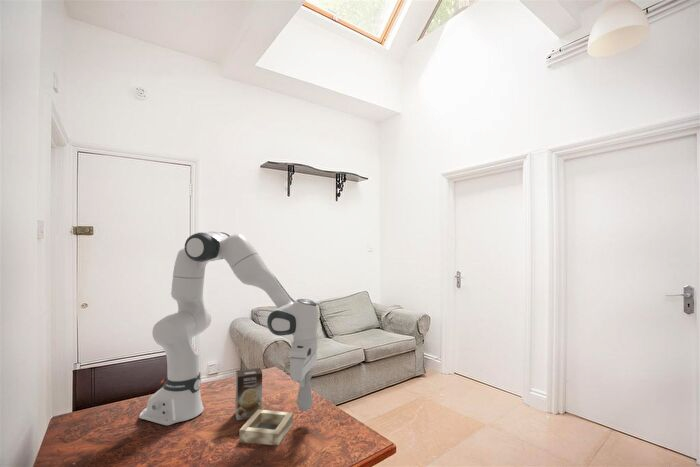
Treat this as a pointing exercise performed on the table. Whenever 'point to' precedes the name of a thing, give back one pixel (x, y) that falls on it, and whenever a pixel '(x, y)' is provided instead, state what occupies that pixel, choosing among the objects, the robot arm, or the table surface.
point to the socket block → (266, 427)
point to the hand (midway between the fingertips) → (304, 383)
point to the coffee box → (248, 392)
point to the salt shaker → (305, 394)
